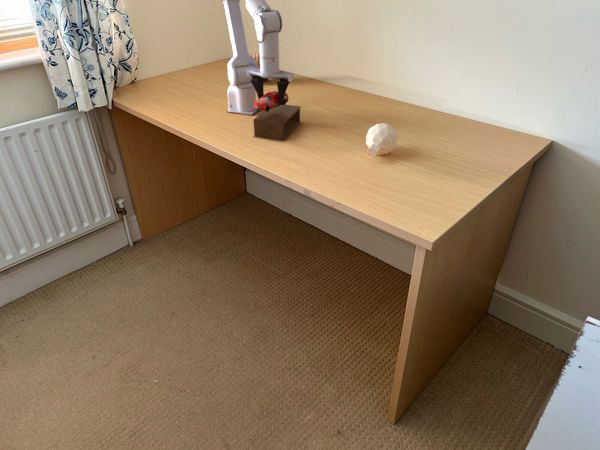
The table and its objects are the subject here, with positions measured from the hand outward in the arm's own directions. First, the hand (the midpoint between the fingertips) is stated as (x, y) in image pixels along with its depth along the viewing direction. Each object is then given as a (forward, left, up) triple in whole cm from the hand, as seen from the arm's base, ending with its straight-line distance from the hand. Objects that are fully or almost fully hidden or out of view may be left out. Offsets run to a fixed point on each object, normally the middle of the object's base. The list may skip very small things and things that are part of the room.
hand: (271, 101), depth 136 cm
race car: (0, 0, -2) cm, 2 cm away
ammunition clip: (-25, +45, -9) cm, 52 cm away
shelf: (+2, 0, -9) cm, 9 cm away
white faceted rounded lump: (+36, -7, -9) cm, 38 cm away
